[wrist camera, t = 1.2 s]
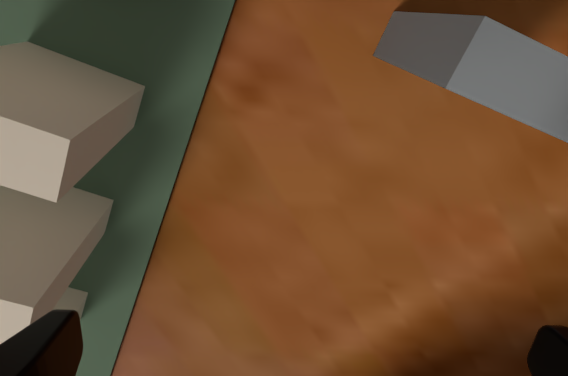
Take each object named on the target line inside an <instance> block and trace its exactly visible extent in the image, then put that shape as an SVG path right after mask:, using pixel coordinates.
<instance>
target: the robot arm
mask: <svg viewBox="0 0 568 376" xmlns="http://www.w3.org/2000/svg"><path fill="white" fill-rule="evenodd" d="M82 353H83V338H82V331H81V324H80V317H79V314H78V312H77V311H75V310H66V309H55V310H52V311H50V312H48V313H47V314H45V315H44V316H42V317H41V318H39V319H38V320H36V321H35V322H33V323H31V324H30V325H28V326H27V327H25V328H24V329H22V330H21V331H19V332H18V333H16V334H15V335H13V336H12V337H10V338H9V339H7V340H6V341H4V342H3V343H1V344H0V376H75V375H76V372H77V369H78V366H79V363H80V360H81V357H82ZM527 362H528V367H529V370H530V372H531V374H532V376H568V328H567V327H564V326H557V325H545V326H542V327H541V328H540V329H539V330H538V332H537V335H536V337H535V339H534V341H533V344H532V346H531V348H530V351H529V353H528V357H527Z"/></svg>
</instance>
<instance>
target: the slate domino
mask: <svg viewBox="0 0 568 376" xmlns="http://www.w3.org/2000/svg"><path fill="white" fill-rule="evenodd" d="M373 56H375V57H377V58H379V59H381V60H383V61H386V62H388V63H390V64H392V65H395V66H397V67H399V68H401V69H403V70H406V71H408V72H410V73H412V74H415V75H417V76H419V77H421V78H423V79H426V80H428V81H430V82H432V83H434V84H437V85H439V86H441V87H443V88H446V89H448V90H450V91H452V92H455V93H457V94H459V95H461V96H464V97H466V98H468V99H470V100H473V101H475V102H477V103H479V104H482V105H484V106H486V107H488V108H491V109H493V110H495V111H497V112H500V113H502V114H504V115H506V116H509V117H511V118H513V119H515V120H518V121H520V122H522V123H525V124H527V125H529V126H531V127H534V128H536V129H538V130H540V131H543V132H545V133H547V134H549V135H552V136H554V137H556V138H558V139H561V140H563V141H565V142H567V143H568V57H567V56H565V55H563V54H561V53H559V52H557V51H555V50H553V49H551V48H549V47H547V46H545V45H543V44H541V43H539V42H537V41H535V40H533V39H531V38H529V37H527V36H525V35H523V34H521V33H519V32H517V31H515V30H513V29H511V28H509V27H507V26H505V25H503V24H501V23H499V22H497V21H495V20H493V19H491V18H488V17H486V16H478V15H458V14H438V13H418V12H398V11H394V12H393V14H392V16H391V18H390V20H389V23H388V25H387V27H386V29H385V31H384V33H383V35H382V37H381V40H380V42H379V44H378V46H377V48H376V50H375V52H374V54H373Z"/></svg>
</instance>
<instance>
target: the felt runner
mask: <svg viewBox="0 0 568 376" xmlns="http://www.w3.org/2000/svg"><path fill="white" fill-rule="evenodd" d="M234 3H235V0H0V46H3V45H9V44H15V43H21V42H30V43H33V44H35V45H38V46H41V47H43V48H46V49H48V50H51V51H54V52H56V53H59V54H62V55H64V56H67V57H70V58H72V59H75V60H77V61H80V62H83V63H85V64H88V65H91V66H93V67H96V68H98V69H101V70H104V71H106V72H109V73H112V74H114V75H117V76H120V77H122V78H125V79H127V80H130V81H133V82H135V83H138V84H141V85H143V86H145V89H144V92H143V96H142V100H141V103H140V107H139V110H138V114H137V118H136V121H135V125H134V127H133V128H132V129H131V130H130V131H129V132H128V133H127V134H126V135H125V136H124V137H123V138H122V139H121V140H120V141H119V142H118V143H117V144H116V145H115V146H114V147H113V148H112V149H111V150H110V151H109V152H108V153H107V154H106V155H105V156H104V157H103V158H102V159H101V160H100V161H99V162H98V163H97V164H96V165H95V166H94V167H92V168H91V169H90V170H89V171H88V172H87V173H86V174H85V175H84V176H83V177H82V178H81V179H80V180H79V181H78V182H77V183H76V184H75V185H74V186H73V187H74V188H77V189H81V190H84V191H87V192H90V193H93V194H96V195H99V196H102V197H106V198H109V199H112V200H114V201H113V204H112V208H111V212H110V215H109V219H108V222H107V226H106V230H105V233H104V235H103V236H102V238H101V239H100V240H99V242H98V243H97V245H96V246H95V248H94V249H93V251H92V252H91V254H90V255H89V257H88V258H87V260H86V261H85V263H84V264H83V266H82V267H81V269H80V270H79V271H78V273H77V274H76V276H75V277H74V279H73V280H72V282H71V283H70V285H69V286H68V287H70V288H73V289H77V290H81V291H84V292H88V295H87V298H86V302H85V306H84V309H83V313H82V316H81V320H80V324H81V331H82V338H83V353H82V357H81V360H80V363H79V366H78V369H77V372H76V375H75V376H110V375H111V372H112V369H113V366H114V363H115V360H116V357H117V354H118V351H119V348H120V345H121V342H122V339H123V336H124V333H125V330H126V327H127V324H128V321H129V318H130V315H131V312H132V309H133V306H134V303H135V300H136V297H137V294H138V291H139V288H140V285H141V282H142V279H143V276H144V273H145V270H146V267H147V264H148V261H149V258H150V255H151V252H152V249H153V246H154V243H155V240H156V237H157V234H158V231H159V228H160V225H161V222H162V219H163V216H164V213H165V210H166V207H167V204H168V201H169V198H170V195H171V192H172V189H173V186H174V183H175V180H176V177H177V174H178V171H179V168H180V165H181V162H182V159H183V156H184V153H185V150H186V147H187V144H188V141H189V138H190V135H191V132H192V129H193V126H194V123H195V120H196V117H197V114H198V111H199V108H200V105H201V102H202V99H203V96H204V93H205V90H206V87H207V84H208V81H209V78H210V75H211V72H212V69H213V66H214V63H215V60H216V57H217V54H218V51H219V48H220V45H221V42H222V39H223V36H224V33H225V30H226V27H227V24H228V21H229V18H230V15H231V12H232V9H233V6H234Z"/></svg>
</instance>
